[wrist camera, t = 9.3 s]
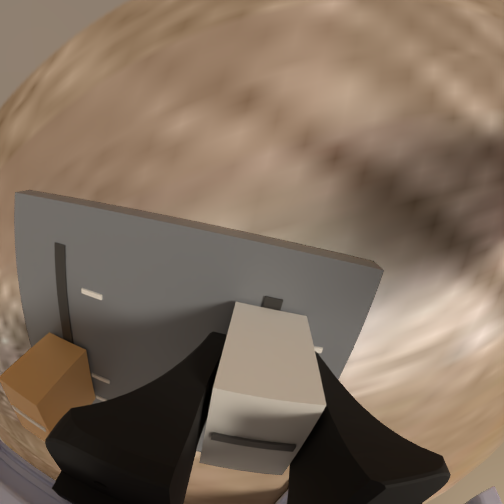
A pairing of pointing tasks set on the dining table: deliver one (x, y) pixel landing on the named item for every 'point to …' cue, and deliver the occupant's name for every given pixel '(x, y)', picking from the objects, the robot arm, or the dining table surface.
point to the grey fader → (263, 392)
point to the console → (170, 286)
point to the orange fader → (48, 383)
